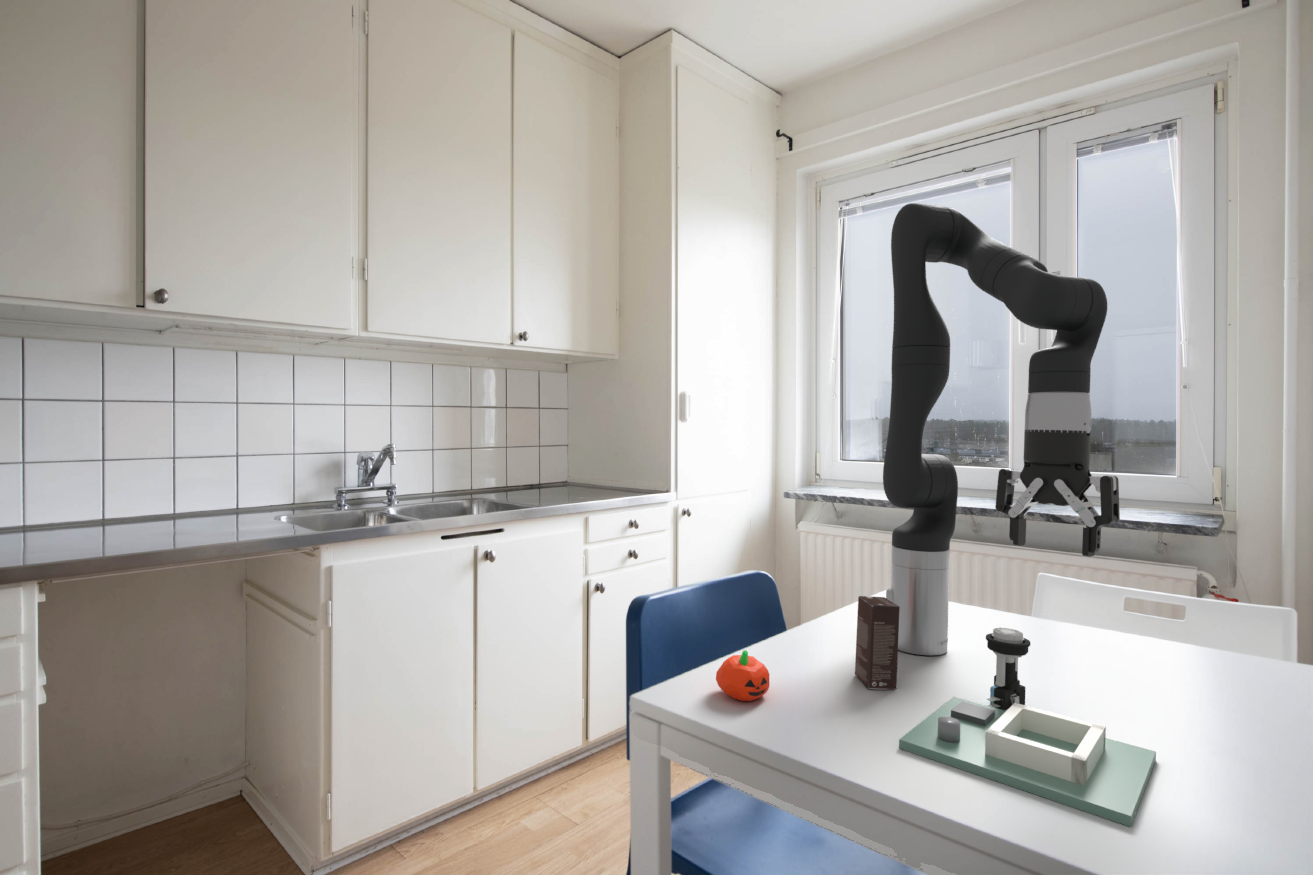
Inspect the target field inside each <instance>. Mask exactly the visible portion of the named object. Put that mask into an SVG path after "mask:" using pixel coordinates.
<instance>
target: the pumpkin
mask: <svg viewBox="0 0 1313 875" xmlns="http://www.w3.org/2000/svg"><path fill="white" fill-rule="evenodd" d="M748 653H749V652H748V651H747V649H745V650H742V653H741V654H734V655H732V656H730V657H728V658H726V659H725V660H724V661H722V663H721V665H720V667H719V668H718V670H717V671H716V675H715V680H716V683H717V686H718V687H719V688H720V690H721V691H722V692H724V693H725V694H726V695H728V696H729V697H730V698H733V699H735V700H737V699H738V701H740V700H741V701H742V702H751V701H755V700H757V699H759V698H761V697H763V696H764V695H766V694H767V692H768V691H769V688H770V672H769V670H768V668H767V666H765V664H764V663H762V661H760V660H759V659H757V658H756V657H755V656H752V655H751V656H750V655H749V654H748Z"/></svg>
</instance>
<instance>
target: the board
mask: <svg viewBox="0 0 1313 875" xmlns="http://www.w3.org/2000/svg"><path fill="white" fill-rule="evenodd" d="M1106 731H1107V729H1106V725H1101V724H1097V723H1093V722H1090V721H1086V720H1081V719H1078V718H1074V717H1071V716H1067V715H1065V714H1064V715H1063V714H1059V713H1055V712H1052V711H1048V710H1044V709H1039V708H1036V707H1032V706H1028V705H1026V704H1025V705H1022V704H1018V703H1014V704H1013V705H1012V706H1011V707H1010V708H1009V709H1007V710H1001V709H997V708H994V707H992V706H991V707H990V706H987V705H986V704H982V703H979V702H975V701H971V700H967V699H963V698H960V697H956V696H953V697H951V698H950V699H949V700H947V702H944V704H943V705H941V706H940V707H938V708H937V709H936V710H935V711H933V712H932V713H931V714H930V715H928V716H927V717H926V718H925V719H923V720H922V721H921V722H920V723H918V724H917V725H916V726H914V727H913V728H912V729H910V730H909V731H908V732H906V734H904V735H903V736H902V737H900V738H899V739H898V748H899V749H900V750H904V751H906V752H909V753H913V754H916V755H919V756H921V757H924V758H927V759H930V760H933V761H936V762H939V763H942V764H945V765H947V766H950V767H954V768H956V769H960V770H962V771H966V772H967V773H971V774H974V775H977V776H980V777H983V778H986V779H989V780H992V781H995V782H998V783H1000V784H1004V785H1006V786H1010V787H1012V788H1014V789H1015V788H1016V789H1018V790H1021V791H1025V792H1027V793H1031V794H1033V795H1036V796H1039V797H1042V798H1045V799H1048V800H1050V801H1053V802H1056V803H1059V804H1062V805H1065V806H1068V807H1071V808H1073V809H1077V810H1080V811H1083V812H1086V813H1088V814H1092V815H1095V816H1098V817H1101V818H1104V819H1106V820H1109V821H1112V822H1115V823H1118V824H1121V825H1124V826H1127V827H1130V828H1131V827H1132V825H1133V822H1134V820H1135V818H1136V815H1137V811H1138V809H1139V806H1140V804H1141V801H1142V798H1143V796H1144V793H1145V790H1146V788H1147V785H1148V782H1149V780H1150V777H1151V774H1152V771H1153V769H1154V766H1155V763H1156V762H1157V761H1156V760H1157V756H1156V755H1157V751H1155V750H1153V749H1148V748H1144V747H1141V746H1140V747H1139V746H1138V745H1137V746H1136V745H1133V744H1129V743H1125V742H1123V741H1118V740H1115V739H1112V738H1108V737H1106V736H1107V735H1106Z"/></svg>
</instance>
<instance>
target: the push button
mask: <svg viewBox="0 0 1313 875" xmlns="http://www.w3.org/2000/svg"><path fill="white" fill-rule="evenodd" d="M985 640H986V641H987V643H986V644H987V648H988V649H989V650H990V651H992V652H993V653H994V655H995V656H996V661H995V663H996V666H995V667H996V671H995V675H994V676H993V685H992V686H990V689H989V692H990V697H988V698H986V700H987V701H989V704H988V705H986V706H990V707H994V708H997V709H1001V710H1005V711H1007V710H1008V709H1009V708H1010V707H1011V706H1012V705H1013V704H1014V703H1018V704H1022V705H1025V706H1026V686H1025V685H1022V684H1021V680H1019V678H1018V675H1019V670H1018V669H1019V658H1022V657H1024V656H1026V655H1027V654H1028V653H1029V647H1031V640H1029V639H1027V638H1025V637H1024V633H1023V632H1022V631H1020V630H1017V629H1014V628H1007V627H996V628H993V629H992V633H987V634H986V635H985Z"/></svg>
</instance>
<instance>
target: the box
mask: <svg viewBox="0 0 1313 875" xmlns="http://www.w3.org/2000/svg"><path fill="white" fill-rule="evenodd" d="M857 602H858V603H857V619H856V620H857V623H856V642H855V644H856V646H855V663H854V676H856V677H857V678H858V679H859V680H860V682H862V683H863V685H864V686H865V687H866V689H868V690H873V691H889V690H890V691H891V690H897V686H898V685H897V684H898V683H897V682H898V664H899V663H898V661H899V660H898V657H899V656H898V654H899V653H898V652H899V650H898V633H899V609H900V607H899V606H898V605H896V604H894V603H893V602H891V601H889V600H888V599H886V596H885V597H883V596H882V597H881V596H869V595H868V596H866V595H863V596H862V595H859V596H858V600H857Z"/></svg>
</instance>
